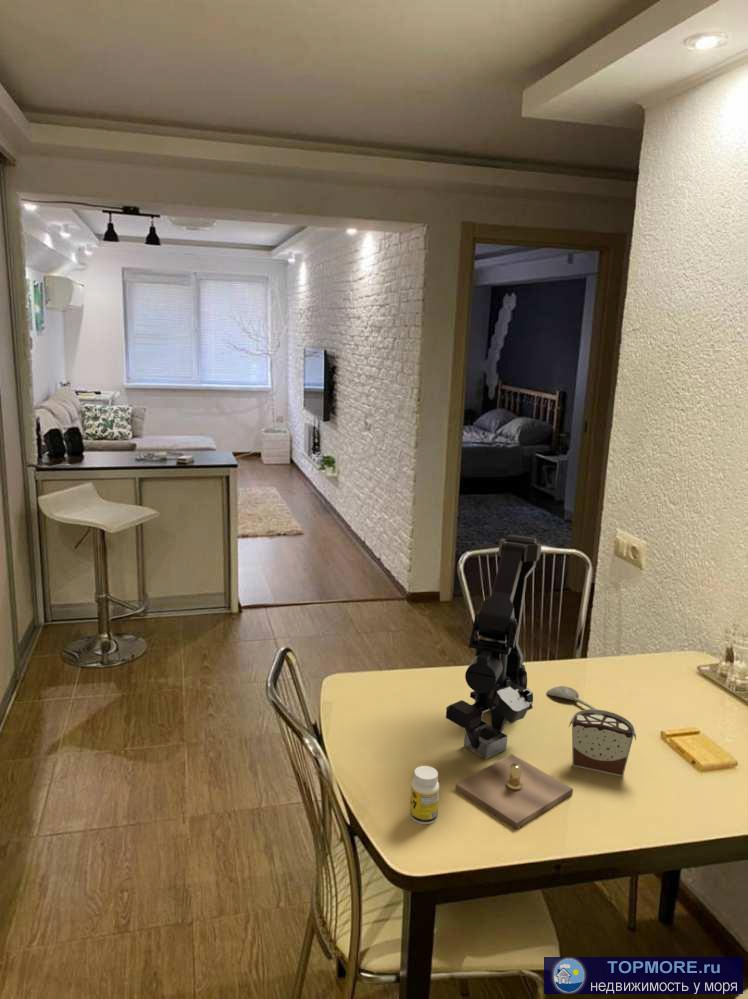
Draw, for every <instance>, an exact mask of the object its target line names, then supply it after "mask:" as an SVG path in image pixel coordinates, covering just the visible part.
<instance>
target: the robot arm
mask: <svg viewBox="0 0 748 999" xmlns="http://www.w3.org/2000/svg"><path fill="white" fill-rule="evenodd" d="M537 541H538V540H537V538H536V537H531V536H530V537H529V536H525V535H524V536H523V535H515V534H508V535H507V537H506V538H501V539H499V544H498V545H499V546H498V554H497V555H498V557H500V562H499V566H498V569H497V572H496V576H495V580H494V583H493V586H492V590H491V593H490V595H489V596H488V597H487V598H485V599H484V600H483V601H482V602H481V605H480V608H479V611H477V612H475V616H474V620H473V623H472V624H473V625H472V629H471V633H470V634H471V635H470V638H469V642H468V643H469V644H468V648H471V649H476V652H475V656H474V657H473V659H472V661H471V663H469V665H468V667H467V669H466V671H465V675H464V678H465V682H466V684H467V686H469V688H470V689H471V690H472V691H471V692H470V693H469V695H470V696H469V697H470V698H471V699H473V700H474V702H473V704H471V703H469V702H466V701H465V700H463V699H461V700H458V701H457V702H454V703H452V704H449V705H448V706H447V707H446V709H445V710H446V711H445V719H447V720H448V721H450V722H452V723H454V724H456V725H457V726H459V727H461V728H462V729H463V730H465V731H464V732H466V733H467V736H468V738H469V740H470V743H471V745H472V747H473V748H475V749H477V748H478V744H479V738H480V731H481V727H482V726H484V725H486V724H487V722H485V720H483V715H484V713H486V712H489V714H490V723H491V727H493V728H494V729H496V730H498V731H500V732H502V733H503V730H504V727H505V725H506V723H507V722H508V723H510V724H514V723H516V722H517V721H519V720H522V719H524V718H525V717H526V714H527V713H528V711H530V710H532V709H533V708H534V707H533V702H534V692H533V691H532V690H531V689H529V688H528V672H527V670H526V666H525V665H524V655H523V652H522V649H521V648H520V647H521V646H520V645H519V639H520V631H521V622H522V616H523V608H524V601H525V595H526V594H525V593H526V587H527V581H528V580H527V579H528V577H529V576H530V574H532V572H533V571H534V570H535V568H536V566H537V562H538V561H539V560H540V558H541V552H542V544H541V543H537ZM477 635H478V637H479V638H477ZM482 638H484V639H482ZM487 725H488V724H487Z"/></svg>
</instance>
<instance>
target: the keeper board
mask: <svg viewBox="0 0 748 999" xmlns="http://www.w3.org/2000/svg"><path fill="white" fill-rule="evenodd" d="M513 763H517V764H519V765H521V775H520V781H521V782H522V789H521V790H518V791H514V790H511V789H509V788H508V787H507V781H508V780H509V779H510V772H511V764H513ZM455 790H456V791H458V792H459V793H460V794H461V795H463V796H464V797H467V798H468V799H470V800H471V801H472V802H474V803H475V804H477V805H478V806H480V807H481V808H483V809H484V810H486V811H488V812H489V813H491V814H492V815H493V816H495V817H497V818H498V819H500V820H501V821H503V822H504V823H506V824H507V825H508V826H510V827H512V828H513V829H514V830H518V829H520V828H522V827H523V826H524V825H526V824H528V823H529V822H531V821H532V820H534V819H535V818H537V817H539V816H540V815H542V814H544V813H545V812H547V811H548V810H550V809H551V808H553V807H554V806H556V805H558V804H560V803H561V802H563V801H564V800H565V799H568V798H570V797H571V796H572V795H573V792H574V788H573V787H571V786H569V785H567V784H566V783H564V782H562V781H560V780H559V779H557V778H555V777H553V776H551V775H550V774H548V773H547V772H545V771H543V770H541V769H539V768H537V767H535V765H532V764H531V763H528V762H527V761H525V760H524V759H521V758H520V757H518V756H516V755H515V754H513V753H511V754H509V755H507V756H506V757H504V758H502V759H500V760H498V761H496V762H495V763H492V764H490V765H489V766H486V767H484V768H483V769H481V770H479V771H477V772H475V773H473V774H471V775H469V776H467V777H465V778H463V779H461V780H460V781H457V782H456V783H455ZM530 820H531V821H530ZM527 822H528V823H527ZM525 823H526V824H525ZM522 825H523V826H522ZM519 827H520V828H519Z"/></svg>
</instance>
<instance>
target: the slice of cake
mask: <svg viewBox="0 0 748 999" xmlns="http://www.w3.org/2000/svg"><path fill="white" fill-rule="evenodd" d="M570 726H571V730H572V731H571V732H572V733H571V738H572V739H571V744H572V745H571V746H572V749H571V750H572V754H571V755H572V756H571V757H572V763H571V764H572V767H576V768H581V769H586V770H591V771H596V772H600V773H604V774H608V775H614V776H617V777H618V776H619V777H624V774H625V770H626V767H627V764H628V760H629V755H630V752H631V748H632V743H633V740H635V741H637V735H636V734H637V733H636V730H635V726H634V724H633V723H632V722H630V721H629V719H627V718H626V717H624V716H622V715H619V714H617V713H616V712H613V711H612V712H611V711H608V710H603V709H597V708H595V709H590V708H587V709H582V710H579V711H577V712H576V713H574V714H573V715H572V717H571V719H570V722H569V725H568V728H570ZM633 738H634V739H633Z"/></svg>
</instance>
